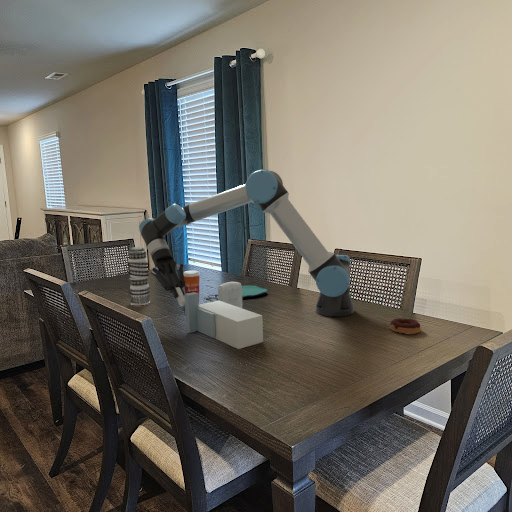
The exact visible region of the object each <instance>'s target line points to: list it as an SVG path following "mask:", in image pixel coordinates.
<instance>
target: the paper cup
mask: <svg viewBox="0 0 512 512" xmlns="http://www.w3.org/2000/svg"><path fill="white" fill-rule="evenodd" d="M183 274H184V279H185V286H184V287H183V290H184V293H185V294H188V293H193V292H195V293H198V299H199V300H200V275H201V273H200V271H198V270H186V271H183Z"/></svg>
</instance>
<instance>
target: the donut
mask: <svg viewBox="0 0 512 512" xmlns="http://www.w3.org/2000/svg"><path fill="white" fill-rule="evenodd" d="M389 325H390V326H389V327H390V330H392V331H393V332H395V333H397V332H399V333H398V334H401V333H417V334H419V333H420V332H422V331H421V324H420V322H418V321H417V320H415V319H413V318H394V319H392V320H391V321H390V324H389ZM418 332H419V333H418Z"/></svg>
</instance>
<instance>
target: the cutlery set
mask: <svg viewBox="0 0 512 512" xmlns="http://www.w3.org/2000/svg"><path fill="white" fill-rule="evenodd" d="M267 293H268V289H267V288H265V287H261V286H258V285H242V299H244V298H251V297H257V296H261V295H263V294H265V295H266V294H267ZM209 296H215V297H214V298H215V299H212V297H209ZM203 299H204V300H205V299H206V301H207V300H208V301H210V302H214V301H215V300H218V294H215V295H214V294H213V295H212V294H210V295H208V297H206V296H204V298H203Z"/></svg>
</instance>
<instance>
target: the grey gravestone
mask: <svg viewBox="0 0 512 512" xmlns="http://www.w3.org/2000/svg"><path fill="white" fill-rule="evenodd" d="M242 286H243V285H242V284H241V282H238V281H227V282H224V283H221V284H220V285H218V288H217V293H218V294H217V295H218V296H217V298H218V299H217V301H222V302H225V303H228V304H231V305H233V306H236V307H239V308H242V309H243V298H242Z"/></svg>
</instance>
